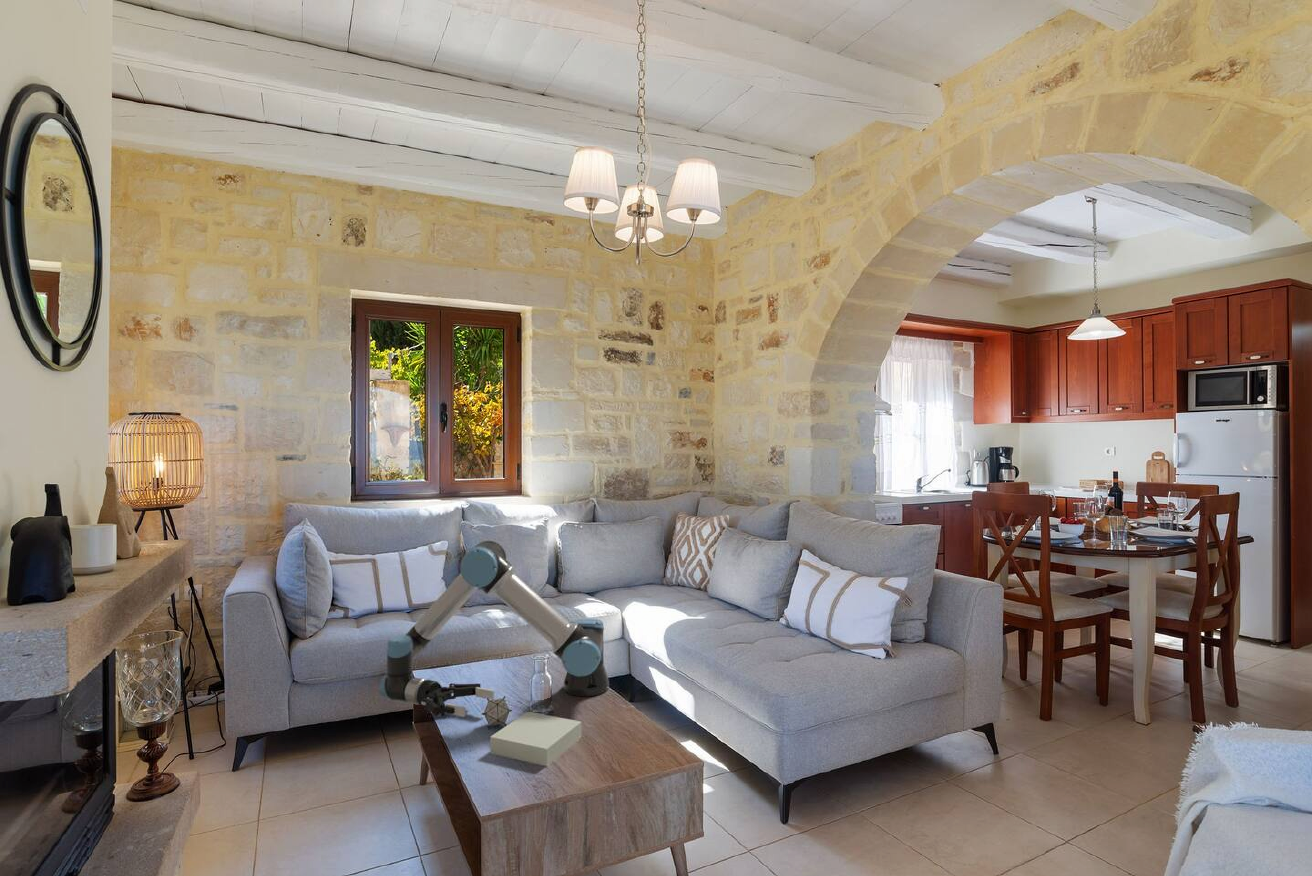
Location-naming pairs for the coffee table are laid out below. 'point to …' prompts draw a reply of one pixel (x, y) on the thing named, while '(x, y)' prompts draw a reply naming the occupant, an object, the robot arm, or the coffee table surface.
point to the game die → (496, 712)
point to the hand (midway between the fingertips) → (479, 703)
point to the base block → (536, 738)
